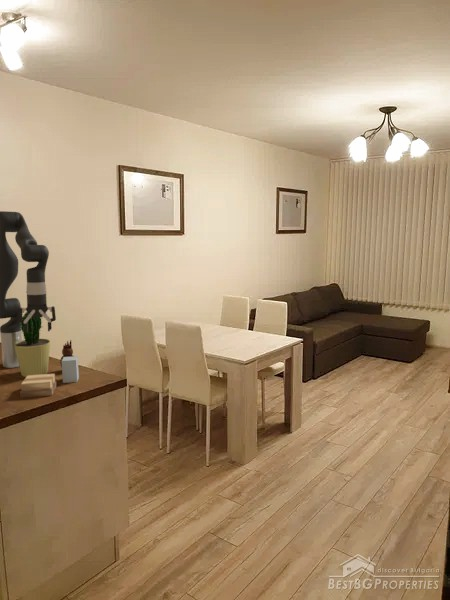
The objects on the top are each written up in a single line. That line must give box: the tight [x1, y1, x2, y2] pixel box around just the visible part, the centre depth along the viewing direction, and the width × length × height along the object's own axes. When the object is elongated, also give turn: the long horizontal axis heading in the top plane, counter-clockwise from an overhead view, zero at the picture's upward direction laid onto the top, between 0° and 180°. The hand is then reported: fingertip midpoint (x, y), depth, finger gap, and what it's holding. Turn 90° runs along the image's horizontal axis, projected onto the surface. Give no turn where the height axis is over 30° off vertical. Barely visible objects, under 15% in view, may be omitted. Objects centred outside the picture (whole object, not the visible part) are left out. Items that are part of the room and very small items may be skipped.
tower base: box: [19, 379, 58, 398], centre depth 188 cm, size 12×12×3 cm
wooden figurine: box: [59, 339, 74, 368], centre depth 214 cm, size 7×6×15 cm
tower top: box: [20, 373, 56, 391], centre depth 188 cm, size 11×11×3 cm
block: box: [61, 355, 80, 384], centre depth 201 cm, size 6×6×10 cm
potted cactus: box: [14, 311, 51, 378], centre depth 209 cm, size 15×15×30 cm
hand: (38, 331), depth 190 cm, fingers open, 8 cm apart
